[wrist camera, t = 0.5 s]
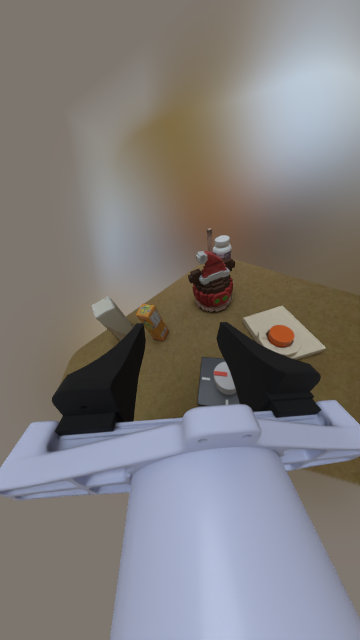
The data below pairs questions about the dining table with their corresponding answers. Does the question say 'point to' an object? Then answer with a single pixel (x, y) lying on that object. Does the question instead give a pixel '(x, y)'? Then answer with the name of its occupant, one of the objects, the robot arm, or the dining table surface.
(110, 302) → the box
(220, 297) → the cake
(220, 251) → the pill bottle
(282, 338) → the button
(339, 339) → the dining table surface
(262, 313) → the button block
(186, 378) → the dining table surface
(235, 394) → the dial panel
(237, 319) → the dining table surface
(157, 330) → the supplement box
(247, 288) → the dining table surface
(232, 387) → the dial
